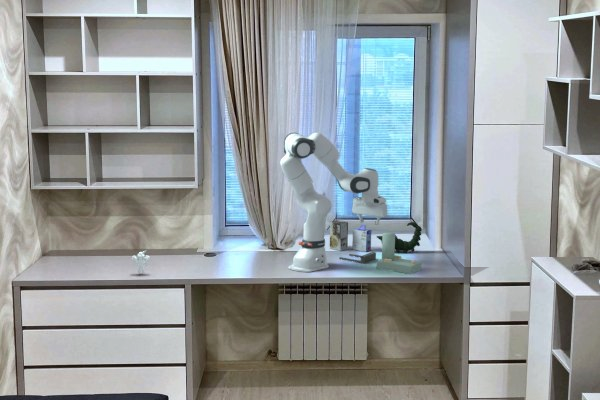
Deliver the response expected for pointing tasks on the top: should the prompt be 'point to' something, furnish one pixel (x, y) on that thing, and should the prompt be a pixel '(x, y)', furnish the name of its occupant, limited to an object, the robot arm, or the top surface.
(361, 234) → the ink cartridge box
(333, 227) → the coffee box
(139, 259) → the hat wearing toy figure
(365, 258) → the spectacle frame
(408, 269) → the flanged cylinder mount
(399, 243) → the toy figurine
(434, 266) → the top surface
